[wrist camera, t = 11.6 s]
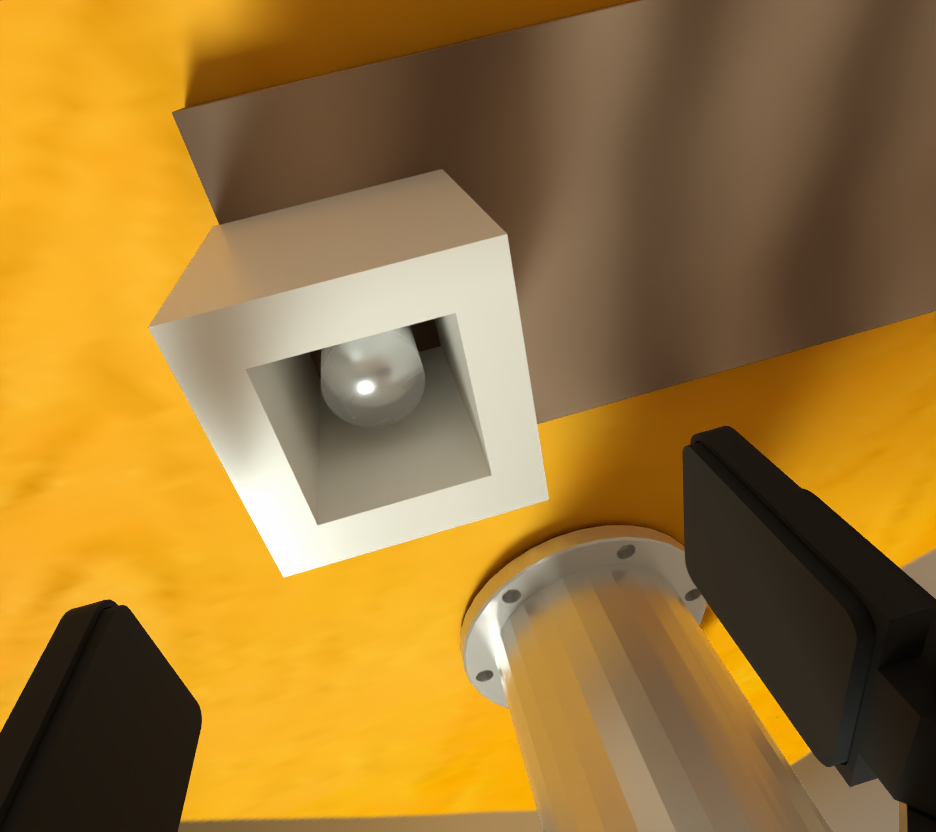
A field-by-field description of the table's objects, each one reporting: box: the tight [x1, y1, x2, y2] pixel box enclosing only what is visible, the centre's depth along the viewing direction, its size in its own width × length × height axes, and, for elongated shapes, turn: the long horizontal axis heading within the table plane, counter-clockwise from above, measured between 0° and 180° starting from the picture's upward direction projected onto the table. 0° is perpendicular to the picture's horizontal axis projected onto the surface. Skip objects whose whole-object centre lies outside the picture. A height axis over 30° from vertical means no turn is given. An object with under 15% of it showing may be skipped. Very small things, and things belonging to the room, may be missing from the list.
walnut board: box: [172, 0, 936, 424], centre depth 19 cm, size 26×12×2 cm, turn 101°
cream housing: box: [148, 169, 549, 577], centre depth 15 cm, size 6×6×7 cm
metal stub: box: [321, 325, 425, 427], centre depth 16 cm, size 2×2×5 cm
